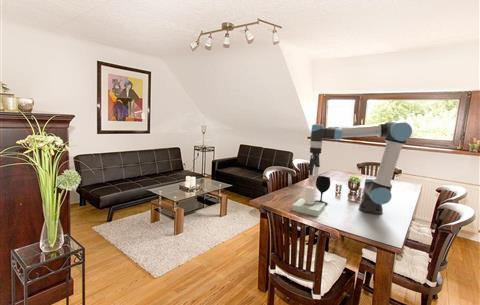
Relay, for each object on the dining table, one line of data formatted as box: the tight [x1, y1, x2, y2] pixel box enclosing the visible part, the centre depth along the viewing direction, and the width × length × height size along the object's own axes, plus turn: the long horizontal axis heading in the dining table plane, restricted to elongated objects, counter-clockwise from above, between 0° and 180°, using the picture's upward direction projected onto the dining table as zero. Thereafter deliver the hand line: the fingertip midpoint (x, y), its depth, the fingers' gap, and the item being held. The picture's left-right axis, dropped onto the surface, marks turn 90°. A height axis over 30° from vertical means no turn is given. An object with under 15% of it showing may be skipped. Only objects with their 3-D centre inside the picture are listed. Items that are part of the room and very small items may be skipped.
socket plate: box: [291, 197, 326, 217], centre depth 182 cm, size 18×18×4 cm
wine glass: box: [315, 175, 331, 206], centre depth 195 cm, size 10×10×20 cm
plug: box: [304, 185, 316, 206], centre depth 181 cm, size 5×5×16 cm
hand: (313, 177), depth 179 cm, fingers open, 13 cm apart
